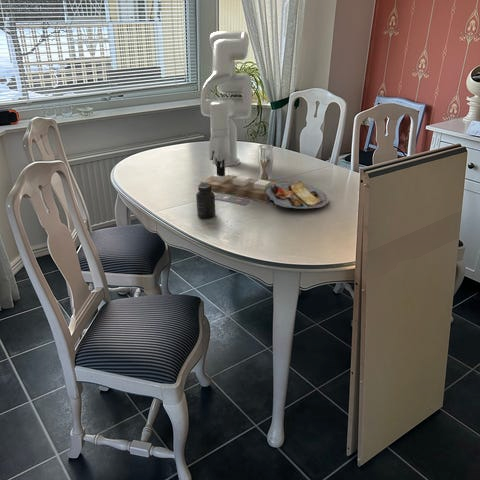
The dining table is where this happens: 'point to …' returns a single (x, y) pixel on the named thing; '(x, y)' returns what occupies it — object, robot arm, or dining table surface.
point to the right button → (262, 184)
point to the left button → (221, 178)
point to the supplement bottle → (205, 201)
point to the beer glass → (266, 161)
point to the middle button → (241, 181)
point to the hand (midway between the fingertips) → (220, 175)
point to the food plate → (296, 195)
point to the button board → (238, 188)
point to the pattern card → (231, 199)
